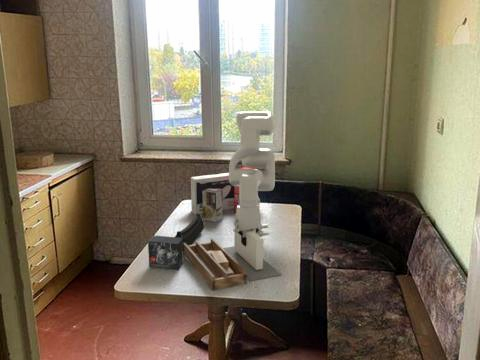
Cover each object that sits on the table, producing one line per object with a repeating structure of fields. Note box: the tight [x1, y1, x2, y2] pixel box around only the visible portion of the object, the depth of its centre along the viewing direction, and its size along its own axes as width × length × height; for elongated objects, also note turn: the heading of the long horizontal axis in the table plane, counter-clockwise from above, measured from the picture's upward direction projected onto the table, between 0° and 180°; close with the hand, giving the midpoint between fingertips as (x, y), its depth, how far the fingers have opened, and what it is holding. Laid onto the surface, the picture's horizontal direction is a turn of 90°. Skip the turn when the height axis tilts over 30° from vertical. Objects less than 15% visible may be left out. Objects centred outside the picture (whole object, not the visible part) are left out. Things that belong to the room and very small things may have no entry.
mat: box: [223, 245, 282, 282], centre depth 203 cm, size 14×34×1 cm, turn 24°
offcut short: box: [211, 250, 229, 268], centre depth 197 cm, size 4×12×2 cm, turn 17°
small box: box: [147, 235, 184, 271], centre depth 197 cm, size 13×7×12 cm, turn 80°
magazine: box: [174, 213, 205, 245], centre depth 221 cm, size 17×3×30 cm
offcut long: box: [207, 250, 235, 276], centre depth 198 cm, size 4×24×3 cm, turn 21°
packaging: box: [190, 172, 234, 215], centre depth 270 cm, size 30×6×20 cm, turn 117°
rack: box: [183, 238, 248, 291], centre depth 196 cm, size 14×36×6 cm, turn 24°
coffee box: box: [202, 188, 224, 223], centre depth 254 cm, size 9×6×16 cm
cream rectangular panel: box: [233, 229, 264, 270], centre depth 201 cm, size 3×22×13 cm, turn 24°
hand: (248, 243), depth 201 cm, fingers closed on cream rectangular panel, 3 cm apart
